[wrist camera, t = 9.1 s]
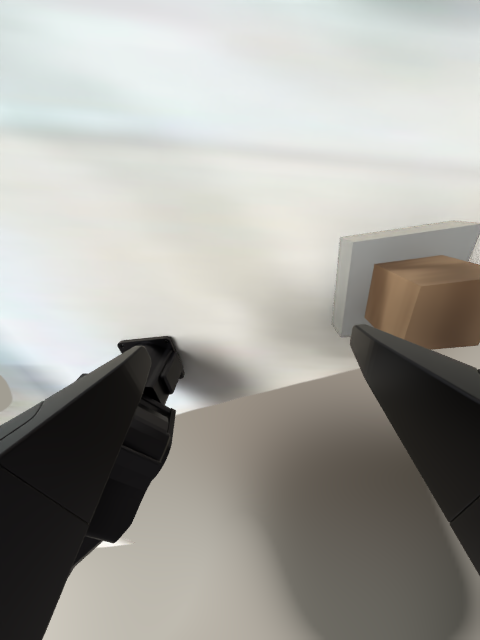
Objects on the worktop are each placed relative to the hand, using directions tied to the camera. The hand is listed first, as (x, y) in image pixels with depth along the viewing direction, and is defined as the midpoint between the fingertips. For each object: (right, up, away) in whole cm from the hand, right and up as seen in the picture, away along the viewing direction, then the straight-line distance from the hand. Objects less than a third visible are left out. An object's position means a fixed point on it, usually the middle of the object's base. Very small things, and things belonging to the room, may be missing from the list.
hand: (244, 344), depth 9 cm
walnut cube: (+13, +4, +8) cm, 16 cm away
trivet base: (+14, +5, +11) cm, 18 cm away
